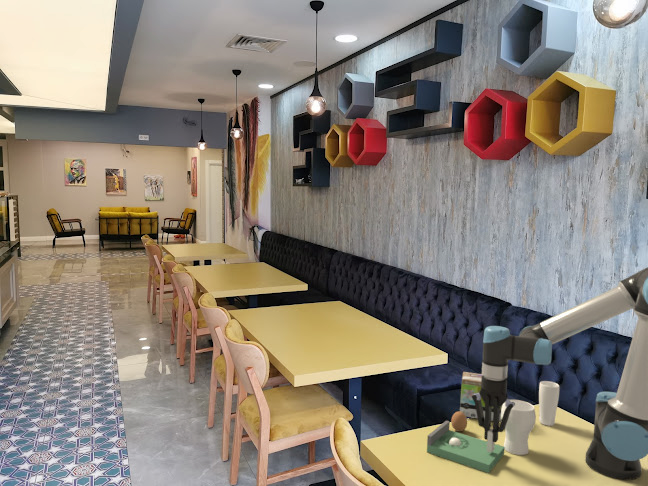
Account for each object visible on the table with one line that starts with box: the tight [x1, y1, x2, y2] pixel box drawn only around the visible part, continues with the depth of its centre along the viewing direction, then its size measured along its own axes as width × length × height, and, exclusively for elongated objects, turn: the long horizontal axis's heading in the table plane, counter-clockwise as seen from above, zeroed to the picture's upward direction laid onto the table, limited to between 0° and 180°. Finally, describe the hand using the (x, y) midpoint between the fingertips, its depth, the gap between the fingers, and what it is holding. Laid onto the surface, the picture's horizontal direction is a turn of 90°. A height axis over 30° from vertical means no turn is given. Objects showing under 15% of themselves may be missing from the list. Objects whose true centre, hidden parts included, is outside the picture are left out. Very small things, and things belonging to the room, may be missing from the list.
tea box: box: [459, 371, 503, 423], centre depth 195 cm, size 15×10×15 cm, turn 73°
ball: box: [449, 438, 462, 446], centre depth 166 cm, size 4×4×4 cm
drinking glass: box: [538, 380, 560, 427], centre depth 189 cm, size 7×7×15 cm
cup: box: [501, 399, 537, 456], centre depth 167 cm, size 11×11×15 cm
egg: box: [450, 410, 468, 433], centre depth 180 cm, size 5×5×7 cm
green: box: [426, 420, 505, 474], centre depth 164 cm, size 20×15×6 cm
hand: (490, 450), depth 159 cm, fingers closed
